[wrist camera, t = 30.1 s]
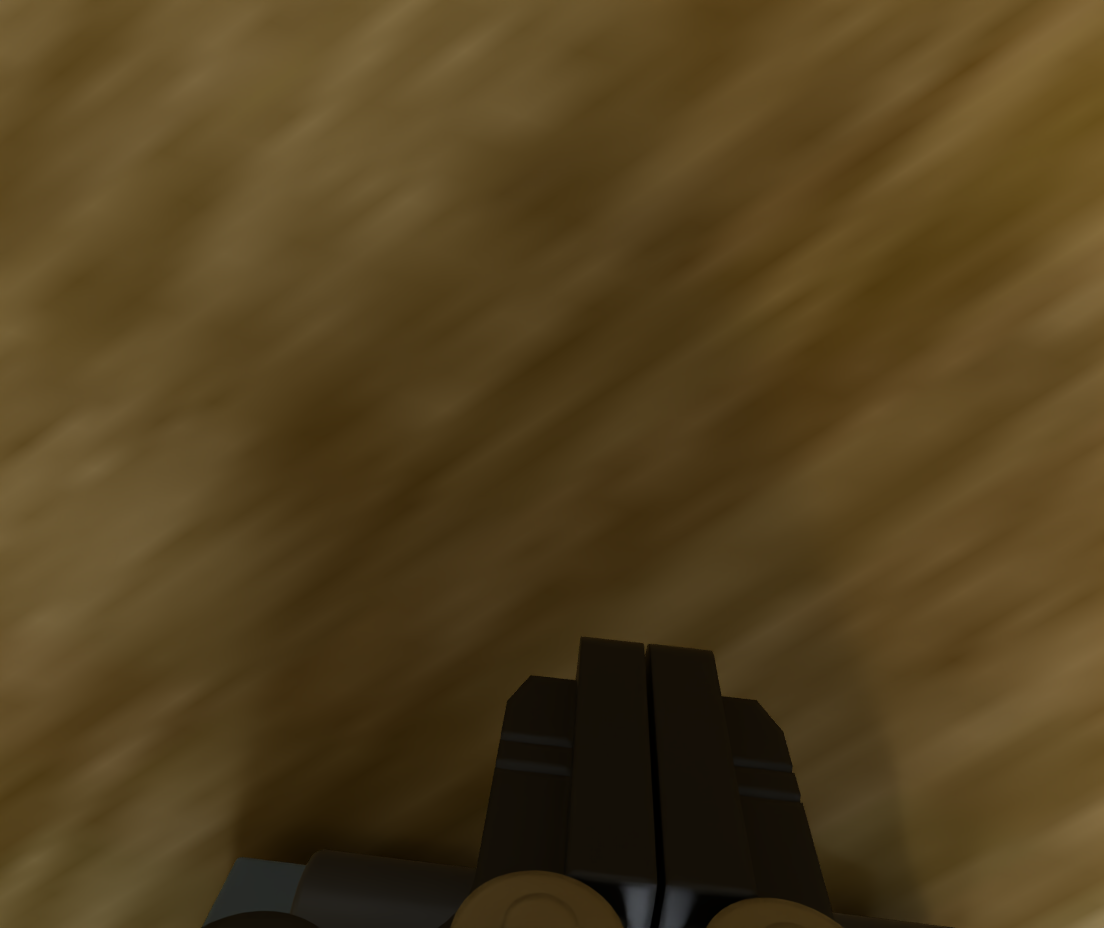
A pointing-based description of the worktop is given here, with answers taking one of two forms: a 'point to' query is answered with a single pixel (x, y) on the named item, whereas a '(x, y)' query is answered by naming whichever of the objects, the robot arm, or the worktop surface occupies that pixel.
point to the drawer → (376, 892)
